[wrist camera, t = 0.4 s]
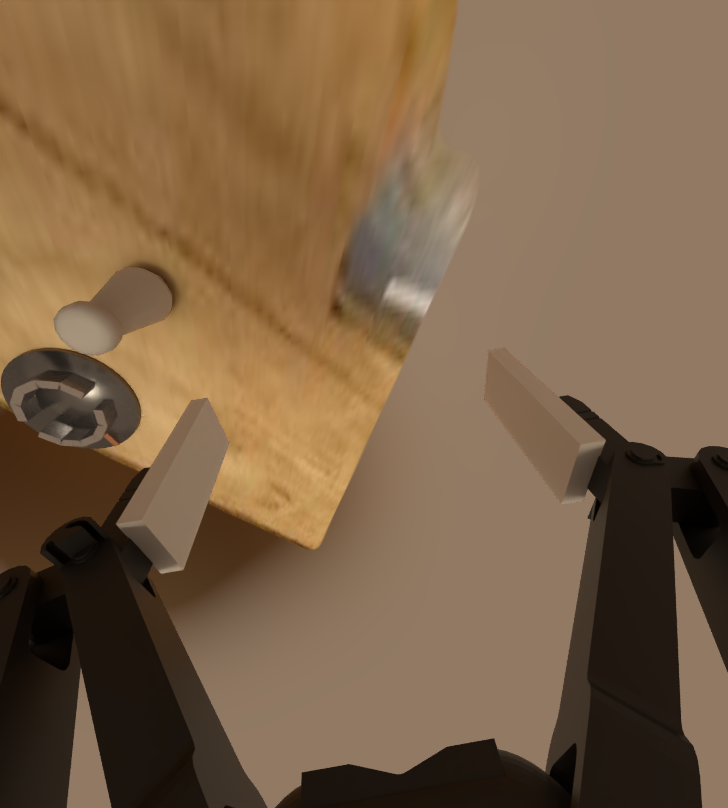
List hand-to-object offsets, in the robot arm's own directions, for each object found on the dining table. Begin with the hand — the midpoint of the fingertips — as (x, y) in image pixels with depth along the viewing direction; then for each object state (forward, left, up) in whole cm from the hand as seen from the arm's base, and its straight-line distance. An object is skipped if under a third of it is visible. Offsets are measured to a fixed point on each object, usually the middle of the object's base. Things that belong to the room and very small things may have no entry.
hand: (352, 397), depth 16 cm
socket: (+2, -38, -27) cm, 46 cm away
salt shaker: (-6, -20, -27) cm, 34 cm away
